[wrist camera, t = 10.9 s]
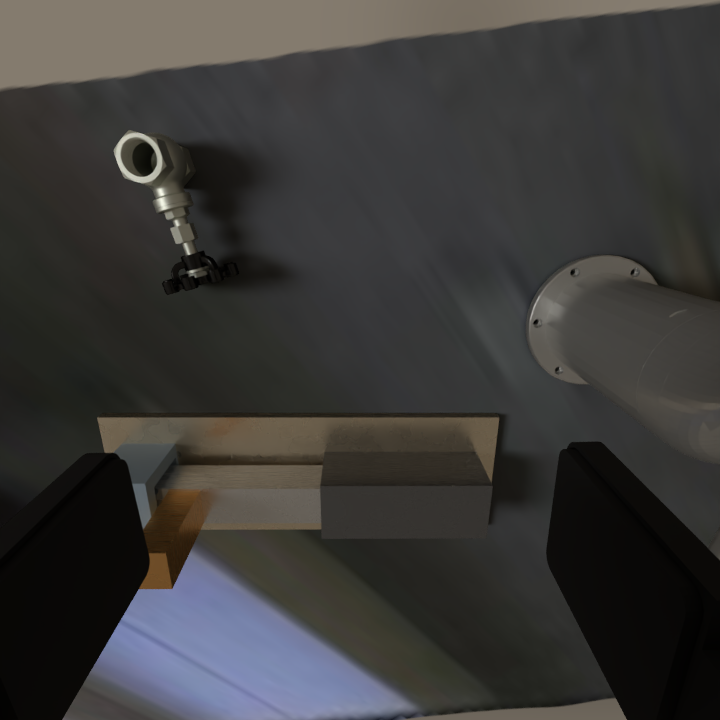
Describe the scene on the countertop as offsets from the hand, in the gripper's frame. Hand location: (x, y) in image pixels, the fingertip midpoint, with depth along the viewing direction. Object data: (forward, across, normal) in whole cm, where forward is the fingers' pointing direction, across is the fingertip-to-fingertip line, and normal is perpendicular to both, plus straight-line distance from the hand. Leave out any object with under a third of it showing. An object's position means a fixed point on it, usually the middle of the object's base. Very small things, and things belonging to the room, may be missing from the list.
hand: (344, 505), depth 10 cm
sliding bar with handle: (+32, +12, +21) cm, 40 cm away
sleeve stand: (+34, +7, +21) cm, 40 cm away
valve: (+34, +15, -6) cm, 37 cm away
